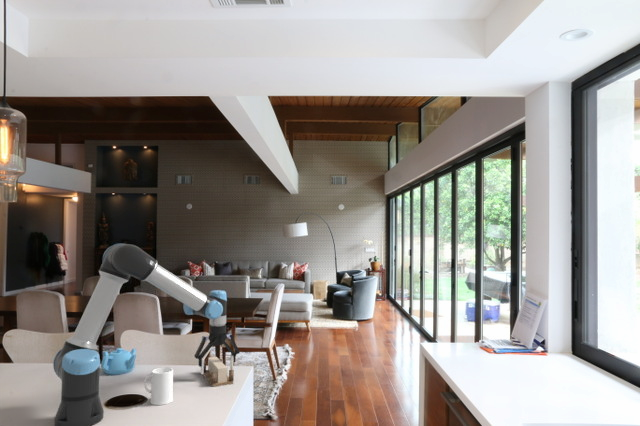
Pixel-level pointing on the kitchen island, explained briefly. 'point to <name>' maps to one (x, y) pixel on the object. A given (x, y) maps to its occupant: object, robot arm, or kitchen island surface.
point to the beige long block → (217, 369)
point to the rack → (212, 376)
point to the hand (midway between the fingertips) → (217, 371)
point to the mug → (161, 386)
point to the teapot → (118, 361)
